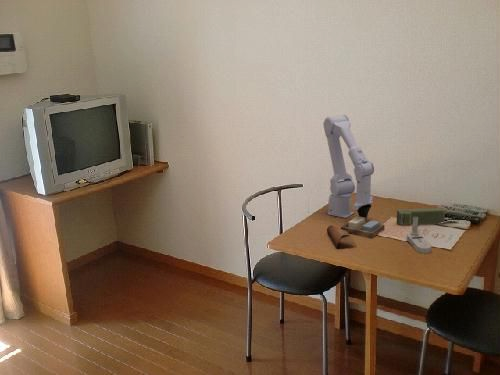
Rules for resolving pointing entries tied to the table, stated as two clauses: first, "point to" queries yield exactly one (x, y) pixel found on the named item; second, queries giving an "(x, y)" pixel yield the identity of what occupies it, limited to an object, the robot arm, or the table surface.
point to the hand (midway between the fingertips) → (363, 221)
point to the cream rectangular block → (356, 222)
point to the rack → (361, 232)
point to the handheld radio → (421, 216)
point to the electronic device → (418, 239)
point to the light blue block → (371, 226)
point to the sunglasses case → (341, 238)
